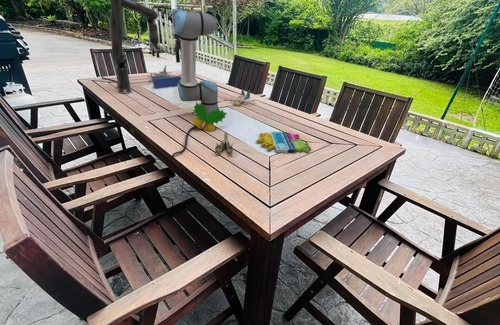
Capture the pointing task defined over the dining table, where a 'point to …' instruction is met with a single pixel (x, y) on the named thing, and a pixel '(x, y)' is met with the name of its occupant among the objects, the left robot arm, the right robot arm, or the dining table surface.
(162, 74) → the airplane
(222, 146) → the jawbone
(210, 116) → the ornament
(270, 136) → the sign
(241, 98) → the toy
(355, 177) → the dining table surface
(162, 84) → the bar
